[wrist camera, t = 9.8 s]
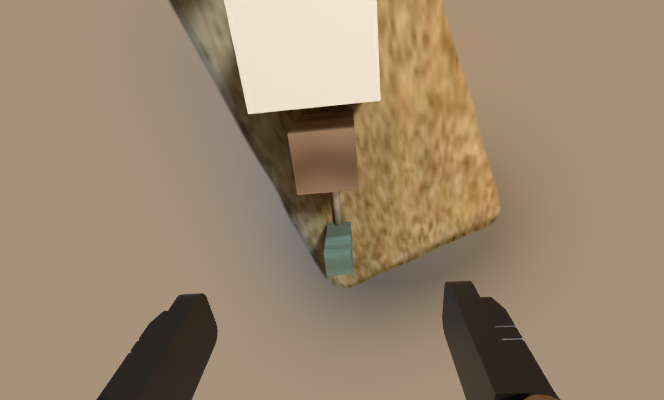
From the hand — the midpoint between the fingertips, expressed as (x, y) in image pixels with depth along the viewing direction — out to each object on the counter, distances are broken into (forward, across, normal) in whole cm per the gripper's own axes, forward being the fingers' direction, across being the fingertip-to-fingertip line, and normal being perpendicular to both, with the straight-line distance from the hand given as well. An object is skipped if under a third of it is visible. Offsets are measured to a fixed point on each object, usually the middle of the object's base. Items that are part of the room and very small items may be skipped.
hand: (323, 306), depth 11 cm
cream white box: (+24, +1, -8) cm, 25 cm away
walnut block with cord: (+23, +1, +6) cm, 24 cm away
